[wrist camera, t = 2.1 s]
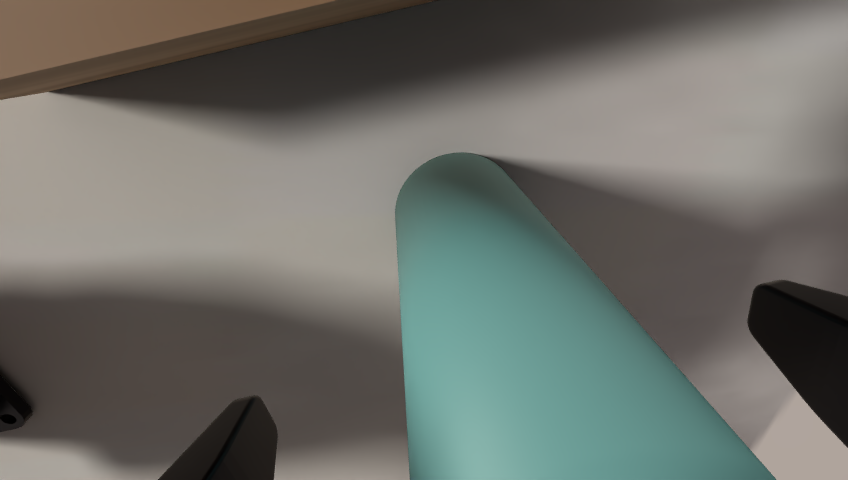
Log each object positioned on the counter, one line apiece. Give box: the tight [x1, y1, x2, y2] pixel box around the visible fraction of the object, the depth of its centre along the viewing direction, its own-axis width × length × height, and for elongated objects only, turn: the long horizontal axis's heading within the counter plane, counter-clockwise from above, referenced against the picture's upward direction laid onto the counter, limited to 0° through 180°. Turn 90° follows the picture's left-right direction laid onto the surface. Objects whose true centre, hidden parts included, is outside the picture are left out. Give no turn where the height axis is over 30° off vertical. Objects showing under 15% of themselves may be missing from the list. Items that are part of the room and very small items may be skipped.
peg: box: [395, 153, 776, 480], centre depth 9 cm, size 4×4×10 cm
